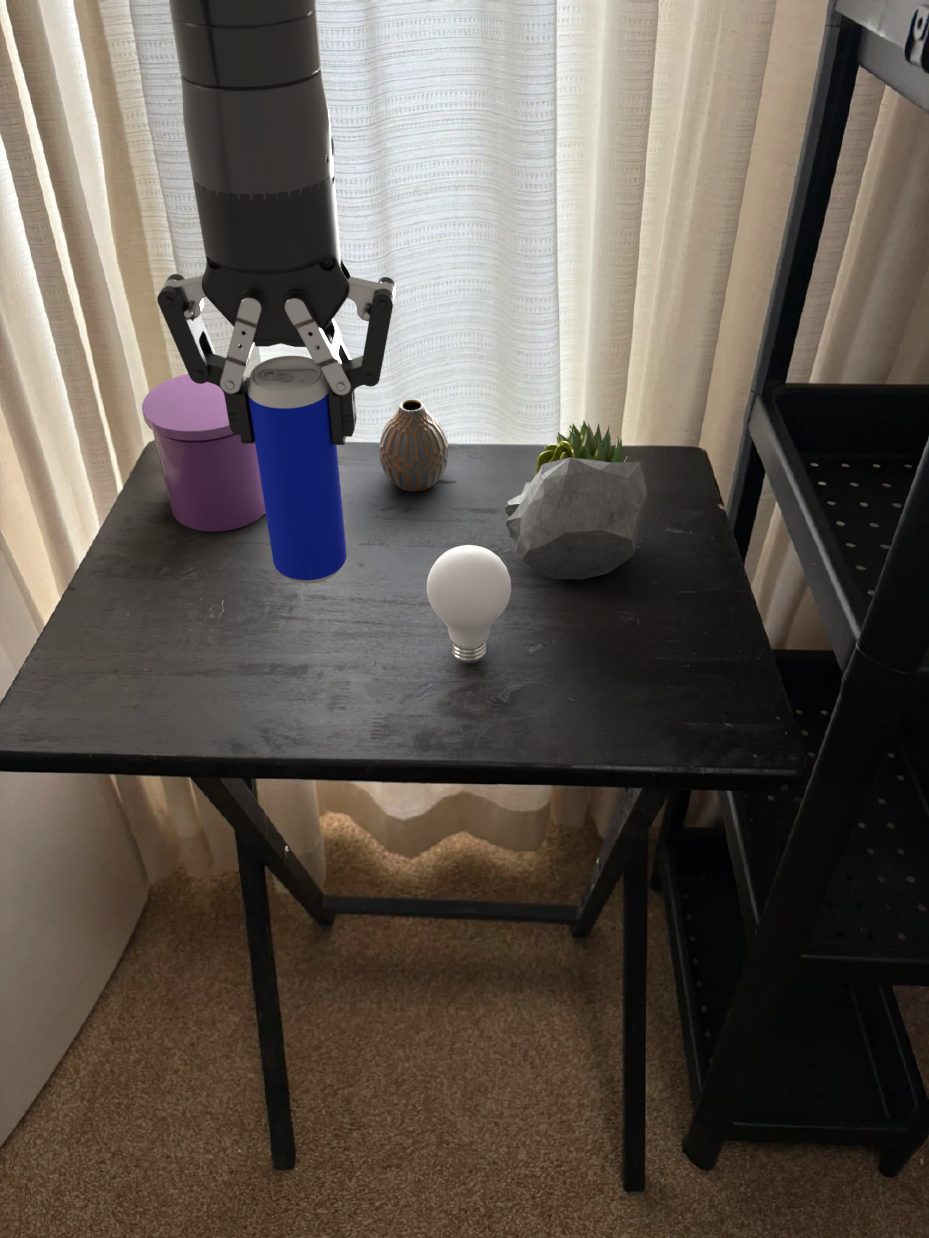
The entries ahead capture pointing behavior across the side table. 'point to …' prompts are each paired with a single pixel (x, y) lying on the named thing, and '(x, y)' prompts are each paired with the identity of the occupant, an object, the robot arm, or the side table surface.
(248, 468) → the jar
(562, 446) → the potted plant
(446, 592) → the light bulb
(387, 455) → the vase
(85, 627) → the side table surface
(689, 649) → the side table surface
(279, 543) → the beverage can
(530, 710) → the side table surface
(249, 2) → the robot arm
